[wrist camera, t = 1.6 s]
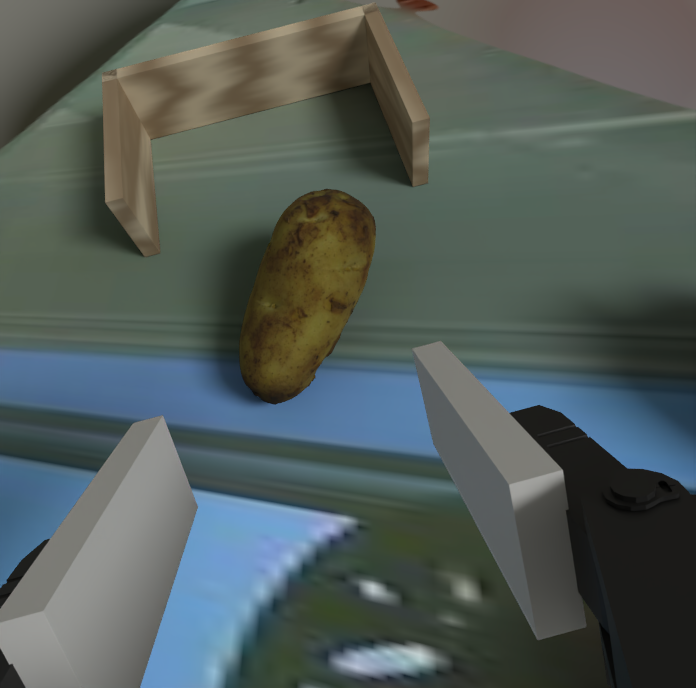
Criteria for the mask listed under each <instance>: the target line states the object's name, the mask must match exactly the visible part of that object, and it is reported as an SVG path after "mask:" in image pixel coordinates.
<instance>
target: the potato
mask: <svg viewBox="0 0 696 688" xmlns="http://www.w3.org/2000/svg"><path fill="white" fill-rule="evenodd" d="M375 231H376V226H375V220H374V217H373V216H372V214H371V213H370V211H369V210H368V208H367V207H366V206H365V205H364V204H362V203H361V202H360V201H359V200H357V199H355V198H354V197H352V196H350V195H349V194H347V193H345V192H342V191H339V190H331V189H324V190H321V191H313V192H310V193H307V194H305V195H303V196H301V197H299V198H298V199H297V200H295V201H294V202H293V203H292V204H291V205H290V206H289V207H288V208H287V209H286V210H285V211H284V212H283V214H282V215H281V217H280V218H279V220H278V222H277V224H276V226H275V229H274V232H273V235H272V238H271V241H270V243H269V244H268V247H267V249H266V252H265V254H264V256H263V259H262V261H261V264H260V267H259V270H258V273H257V277H256V280H255V284H254V287H253V290H252V293H251V295H250V298H249V301H248V304H247V308H246V312H245V315H244V319H243V324H242V329H241V335H240V341H239V357H240V369H241V374H242V377H243V380H244V382H245V384H246V385H247V386H248V387H249V388H250V390H251V391H252V392H253V394H254V395H255V396H258V397H259V398H261V399H262V400H263V401H265V402H267V403H271V404H277V403H282V402H285V401H287V400H290V399H292V398H294V397H295V396H297V395H298V394H300V393H301V392H302V391H303V390H304V389H305V388H306V387H308V386H309V385H310V384H311V381H313V380H314V378H315V372H316V370H317V369H318V367H319V366H320V364H321V363H322V361H323V360H324V358H325V357H327V356H329V355H330V354H331V353H332V351H333V349H334V347H335V345H336V343H337V342H338V340H339V338H340V335H341V332H342V330H343V328H344V326H345V325H346V323H347V321H348V319H349V317H350V315H351V314H352V312H353V309H354V307H355V305H356V303H357V302H358V299H359V297H360V295H361V293H362V291H363V289H364V286H365V283H366V280H367V276H368V271H369V267H370V264H371V261H372V257H373V253H374V248H375V237H376V232H375Z"/></svg>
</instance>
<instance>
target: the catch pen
mask: <svg viewBox="0 0 696 688" xmlns="http://www.w3.org/2000/svg"><path fill="white" fill-rule="evenodd" d="M367 83H371V85H372V88H373V90H374V93H375V95H376V98H377V100H378V103H379V105H380V107H381V110H382V112H383V115H384V117H385V120H386V122H387V125H388V127H389V130H390V132H391V134H392V137H393V139H394V142H395V144H396V147H397V149H398V152H399V154H400V156H401V159H402V161H403V164H404V166H405V169H406V171H407V174H408V176H409V178H410V181H411V183H412V186H413V187H414V186H418V185H422V184H426V183H428V163H429V126H430V118H429V115H428V113H427V111H426V109H425V107H424V105H423V103H422V101H421V98H420V96H419V94H418V92H417V90H416V88H415V86H414V84H413V81H412V79H411V77H410V75H409V73H408V71H407V69H406V66H405V64H404V62H403V60H402V58H401V56H400V54H399V52H398V49H397V47H396V45H395V43H394V41H393V39H392V37H391V35H390V32H389V30H388V28H387V26H386V24H385V22H384V20H383V18H382V15H381V13H380V11H379V9H378V7H377V5H376V3H372V4H368V5H364V6H360V7H356V8H352V9H349V10H345V11H341V12H337V13H333V14H329V15H325V16H321V17H317V18H314V19H310V20H306V21H302V22H298V23H294V24H290V25H286V26H282V27H278V28H275V29H271V30H267V31H263V32H259V33H255V34H251V35H247V36H243V37H240V38H236V39H232V40H228V41H224V42H220V43H216V44H212V45H208V46H205V47H201V48H197V49H193V50H189V51H185V52H181V53H177V54H173V55H170V56H166V57H162V58H158V59H154V60H150V61H146V62H142V63H138V64H135V65H131V66H127V67H123V68H119V69H115V70H111V71H107V72H103V73H102V89H103V130H104V171H105V203H106V204H107V206H108V207H109V208H110V210H111V211H112V212H113V214H114V215H115V217H116V218H117V219H118V221H119V222H120V223H121V225H122V226H123V228H124V229H125V230H126V232H127V233H128V234H129V236H130V237H131V239H132V240H133V241H134V243H135V244H136V245H137V247H138V248H139V250H140V251H141V252H142V254H143V255H144V256H145V257H147V256H151V255H155V254H159V253H160V244H159V232H158V221H157V209H156V197H155V186H154V174H153V163H152V151H151V139H155V138H159V137H162V136H166V135H170V134H174V133H178V132H182V131H186V130H189V129H193V128H197V127H201V126H205V125H209V124H213V123H216V122H220V121H224V120H228V119H232V118H236V117H240V116H243V115H247V114H251V113H255V112H259V111H263V110H267V109H270V108H274V107H278V106H282V105H286V104H290V103H294V102H297V101H301V100H305V99H309V98H313V97H317V96H321V95H324V94H328V93H332V92H336V91H340V90H344V89H348V88H351V87H355V86H359V85H363V84H367Z"/></svg>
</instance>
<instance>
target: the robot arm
mask: <svg viewBox="0 0 696 688" xmlns="http://www.w3.org/2000/svg"><path fill="white" fill-rule="evenodd" d="M412 351H413V356H414V360H415V365H416V369H417V373H418V378H419V382H420V387H421V391H422V395H423V400H424V404H425V409H426V413H427V418H428V422H429V426H430V431H431V435H432V440H433V444H434V446H435V448H436V449H437V451H438V453H439V455H440V457H441V459H442V461H443V463H444V464H445V466H446V468H447V470H448V472H449V474H450V476H451V478H452V480H453V481H454V483H455V485H456V487H457V489H458V491H459V493H460V495H461V497H462V498H463V500H464V502H465V504H466V506H467V508H468V510H469V512H470V513H471V515H472V517H473V519H474V521H475V523H476V525H477V527H478V529H479V530H480V532H481V534H482V536H483V538H484V540H485V542H486V544H487V545H488V547H489V549H490V551H491V553H492V555H493V557H494V559H495V561H496V562H497V564H498V566H499V568H500V570H501V572H502V574H503V576H504V578H505V579H506V581H507V583H508V585H509V587H510V589H511V591H512V593H513V594H514V596H515V598H516V600H517V602H518V604H519V606H520V608H521V610H522V611H523V613H524V615H525V617H526V619H527V621H528V623H529V625H530V626H531V628H532V630H533V632H534V634H535V636H536V638H537V640H541V639H544V638H548V637H551V636H555V635H559V634H562V633H566V632H570V631H573V630H577V629H580V628H584V627H586V620H585V614H584V607H583V601H582V598H583V599H584V601H585V602H586V604H587V605H588V606H589V608H590V609H591V611H592V612H593V614H594V615H595V616H596V618H597V619H598V621H599V627H600V634H601V641H602V648H603V656H604V663H605V670H606V677H607V684H608V686H612V688H696V495H690V493H689V492H688V491H687V490H686V489H685V488H684V487H683V486H682V485H681V484H680V483H679V482H678V481H677V480H675V479H673V478H670V477H668V476H666V475H664V474H662V473H658V472H654V471H649V470H645V469H627V468H626V467H625V466H624V465H622V464H621V463H620V462H619V461H618V460H616V459H615V458H614V457H613V456H612V455H611V454H609V453H608V452H607V451H606V450H605V449H603V448H602V447H601V446H600V445H599V444H598V443H596V442H595V441H594V440H593V439H592V438H590V437H589V438H588V436H587V434H586V433H585V432H583V431H582V430H581V429H580V428H579V427H576V426H575V424H574V423H573V422H572V421H570V420H569V419H568V418H567V417H566V416H564V415H563V414H562V413H561V412H558V411H555V410H552V409H549V408H546V407H543V406H540V405H537V406H533V407H530V408H526V409H522V410H519V411H515V412H511V413H508V411H507V410H506V409H505V408H504V407H503V406H502V405H501V404H500V403H499V402H498V401H497V400H496V399H495V398H494V397H493V396H492V395H491V393H490V392H489V391H488V390H487V389H486V388H485V387H484V386H483V385H482V384H481V383H480V382H479V381H478V380H477V379H476V378H475V377H474V375H473V374H472V373H471V372H470V371H469V370H468V369H467V368H466V367H465V366H464V365H463V364H462V363H461V362H460V361H459V360H458V359H457V357H456V356H455V355H454V354H453V353H452V352H451V351H450V350H449V349H448V348H447V347H446V346H445V345H444V344H443V343H442V342H441V341H439V342H435V343H432V344H428V345H424V346H420V347H417V348H413V349H412ZM197 508H198V506H197V503H196V501H195V498H194V496H193V493H192V490H191V488H190V485H189V483H188V480H187V477H186V475H185V472H184V469H183V467H182V464H181V462H180V459H179V456H178V454H177V451H176V449H175V446H174V443H173V441H172V438H171V435H170V433H169V430H168V428H167V425H166V422H165V420H164V417H163V415H162V416H158V417H154V418H151V419H147V420H143V421H140V422H136V423H133V424H132V426H131V427H130V428H129V430H128V431H127V433H126V434H125V435H124V437H123V438H122V440H121V441H120V442H119V444H118V445H117V447H116V448H115V449H114V451H113V452H112V454H111V455H110V456H109V458H108V459H107V461H106V462H105V463H104V465H103V466H102V468H101V469H100V470H99V472H98V473H97V475H96V476H95V477H94V479H93V480H92V482H91V483H90V484H89V486H88V487H87V488H86V490H85V491H84V493H83V494H82V495H81V497H80V498H79V500H78V501H77V502H76V504H75V505H74V507H73V508H72V509H71V511H70V512H69V514H68V515H67V516H66V518H65V519H64V521H63V522H62V523H61V525H60V526H59V528H58V529H57V530H56V532H55V533H54V535H53V536H52V537H51V539H47V540H44V541H43V542H42V543H41V544H40V545H39V546H37V547H36V548H35V549H34V550H33V551H32V552H30V553H29V554H28V555H27V556H26V557H25V558H24V559H22V560H21V562H20V563H19V564H18V566H17V567H16V568H15V570H14V571H13V572H12V574H11V575H10V576H9V578H8V579H7V583H6V584H3V586H2V587H1V588H0V688H140V685H141V682H142V679H143V676H144V673H145V670H146V667H147V664H148V661H149V657H150V654H151V651H152V648H153V645H154V642H155V639H156V636H157V633H158V629H159V626H160V623H161V620H162V617H163V614H164V611H165V608H166V605H167V601H168V598H169V595H170V592H171V589H172V586H173V583H174V580H175V577H176V574H177V570H178V567H179V564H180V561H181V558H182V555H183V552H184V549H185V546H186V542H187V539H188V536H189V533H190V530H191V527H192V524H193V521H194V518H195V514H196V511H197Z"/></svg>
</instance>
